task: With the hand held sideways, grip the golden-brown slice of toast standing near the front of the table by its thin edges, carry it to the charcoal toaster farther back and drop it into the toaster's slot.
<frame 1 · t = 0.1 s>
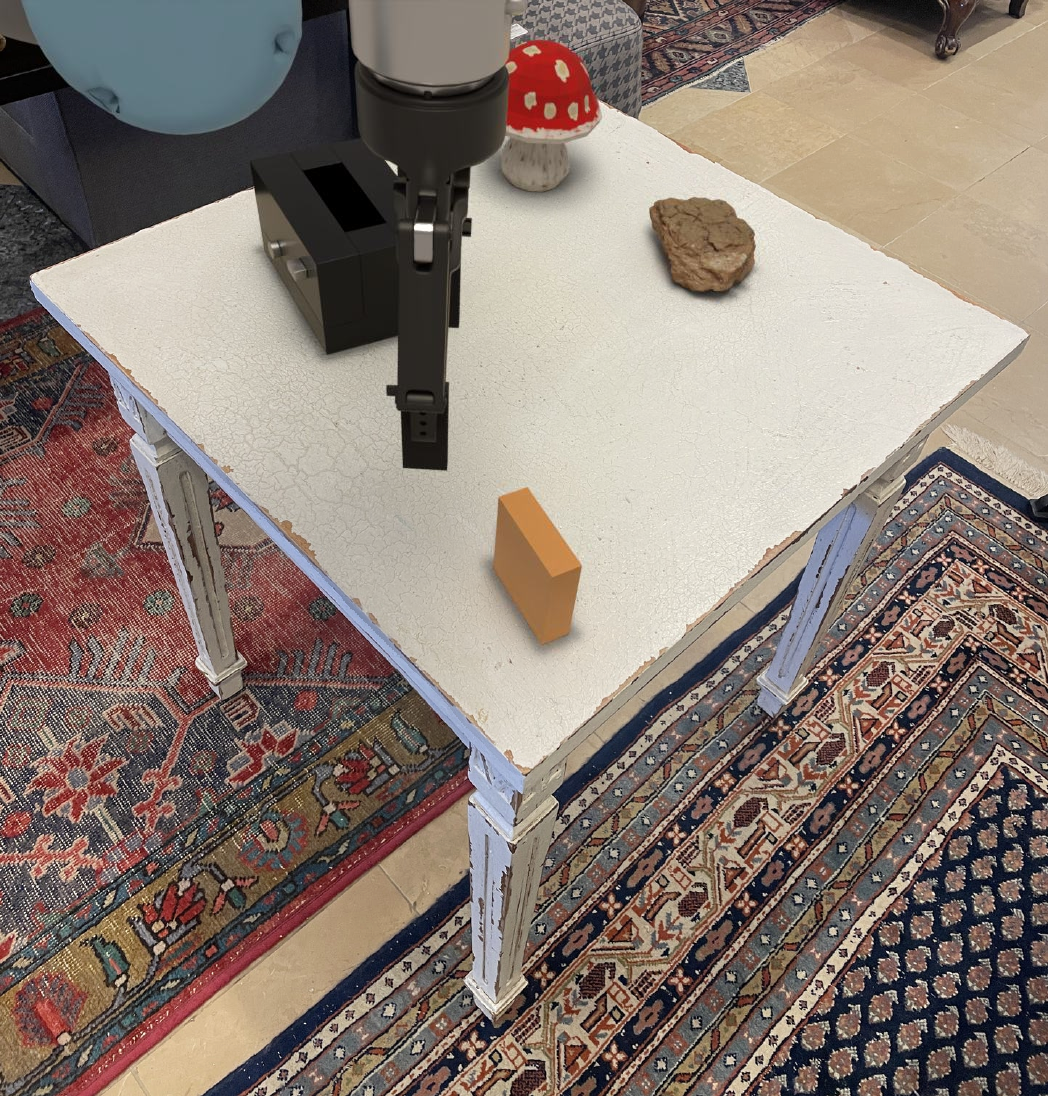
hand: (433, 390, 63), 17 cm above the table, tool pointing down, fingers open, 13 cm apart
rock: (703, 266, 103), on the table
toast: (530, 600, 74), on the table
decorative mushroom: (533, 178, 112), on the table
toaster: (351, 285, 97), on the table
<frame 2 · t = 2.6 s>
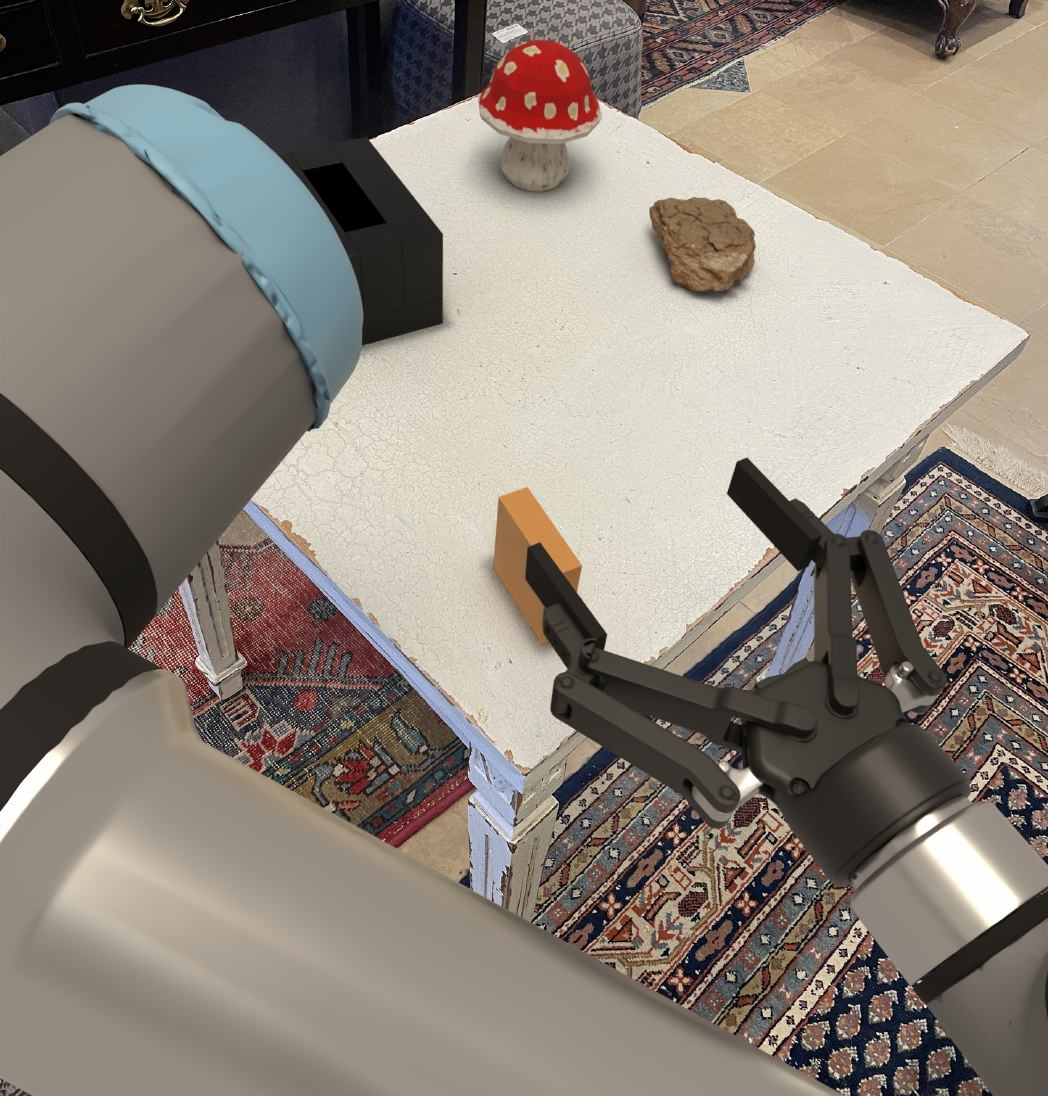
hand: (638, 515, 53), 20 cm above the table, tool horizontal, fingers open, 13 cm apart
nothing on the table moved.
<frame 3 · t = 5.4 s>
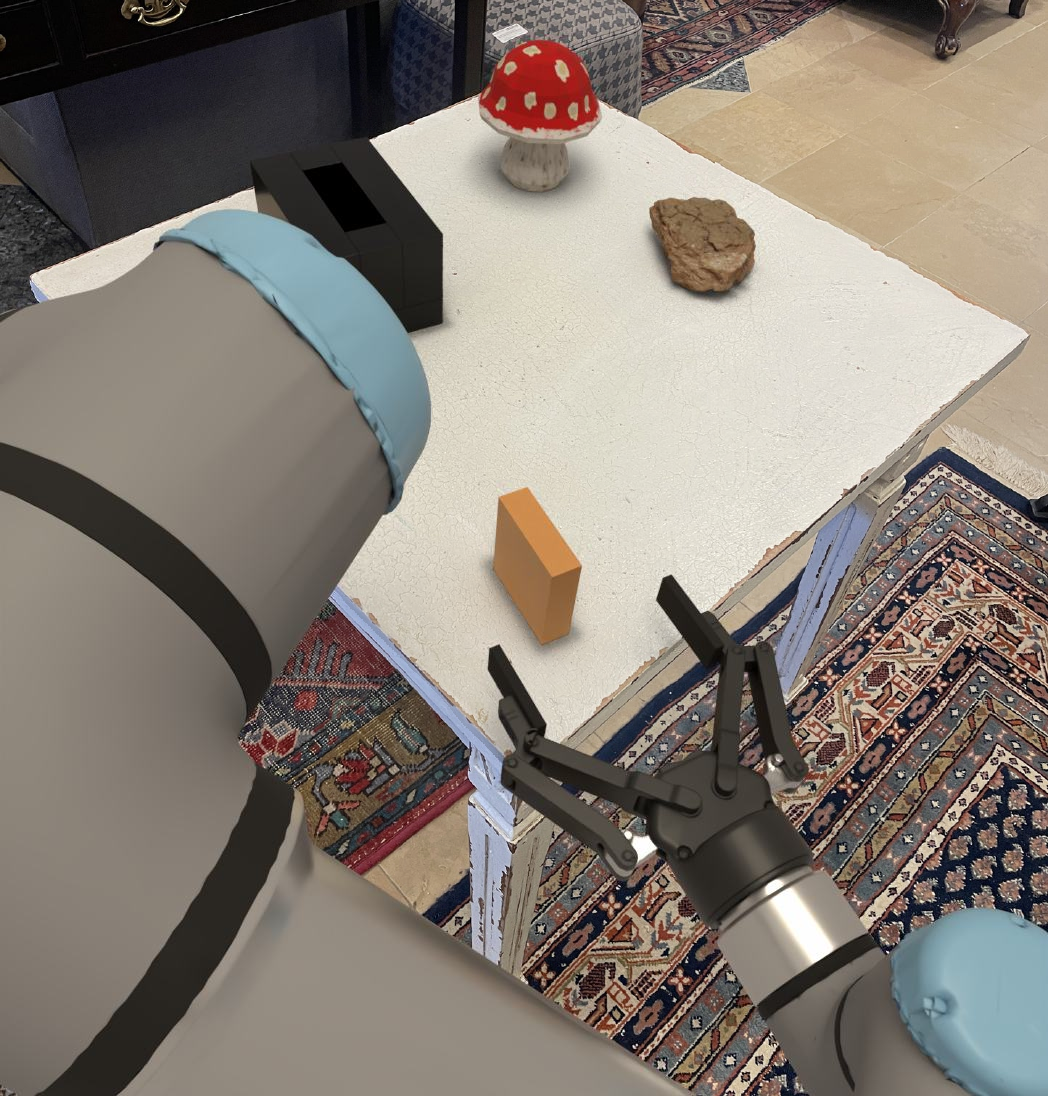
hand: (581, 620, 66), 6 cm above the table, tool horizontal, fingers open, 13 cm apart
nothing on the table moved.
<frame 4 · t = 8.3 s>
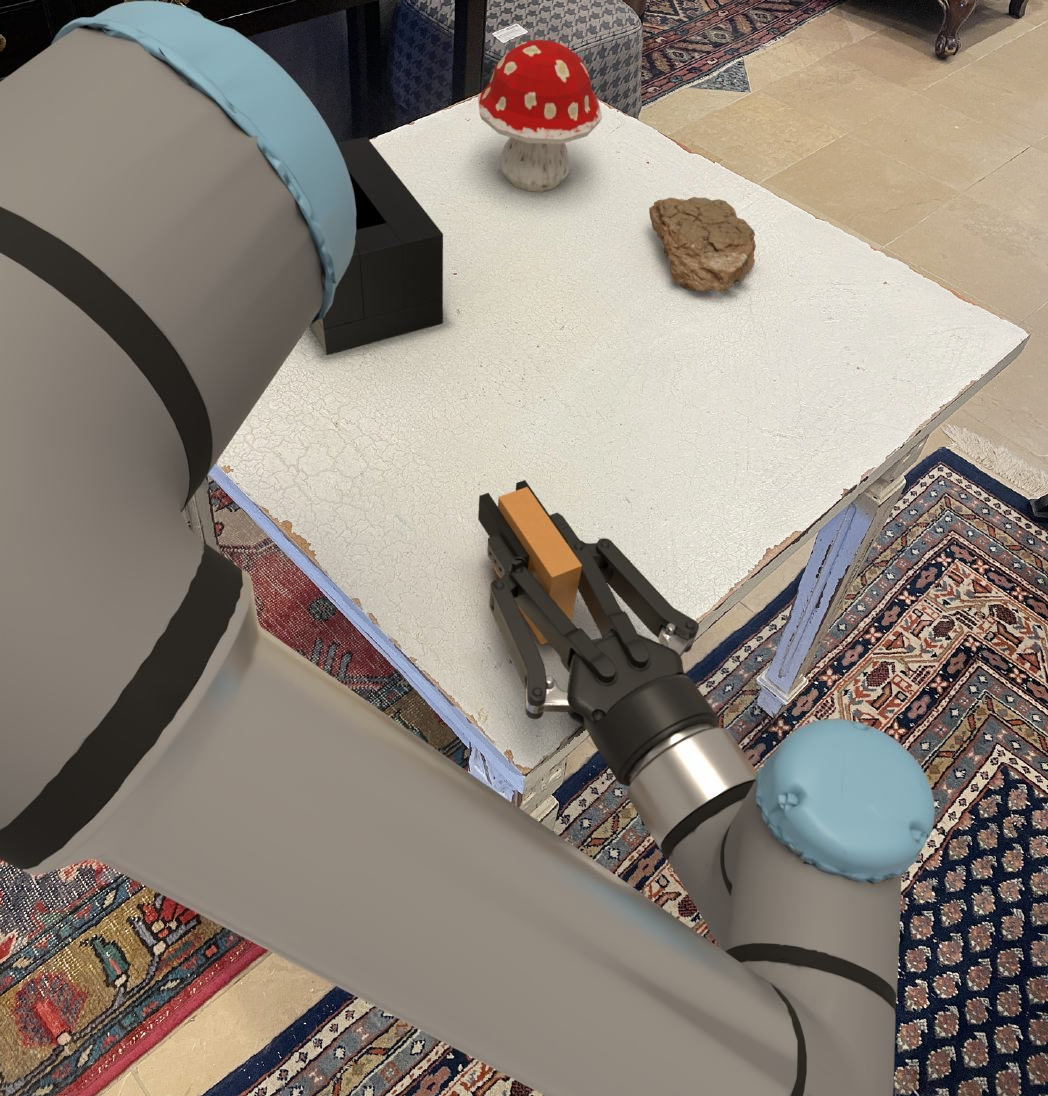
hand: (501, 500, 72), 6 cm above the table, tool horizontal, fingers closed on toast, 2 cm apart
toast: (530, 600, 74), on the table, touching gripper
everything else where it was.
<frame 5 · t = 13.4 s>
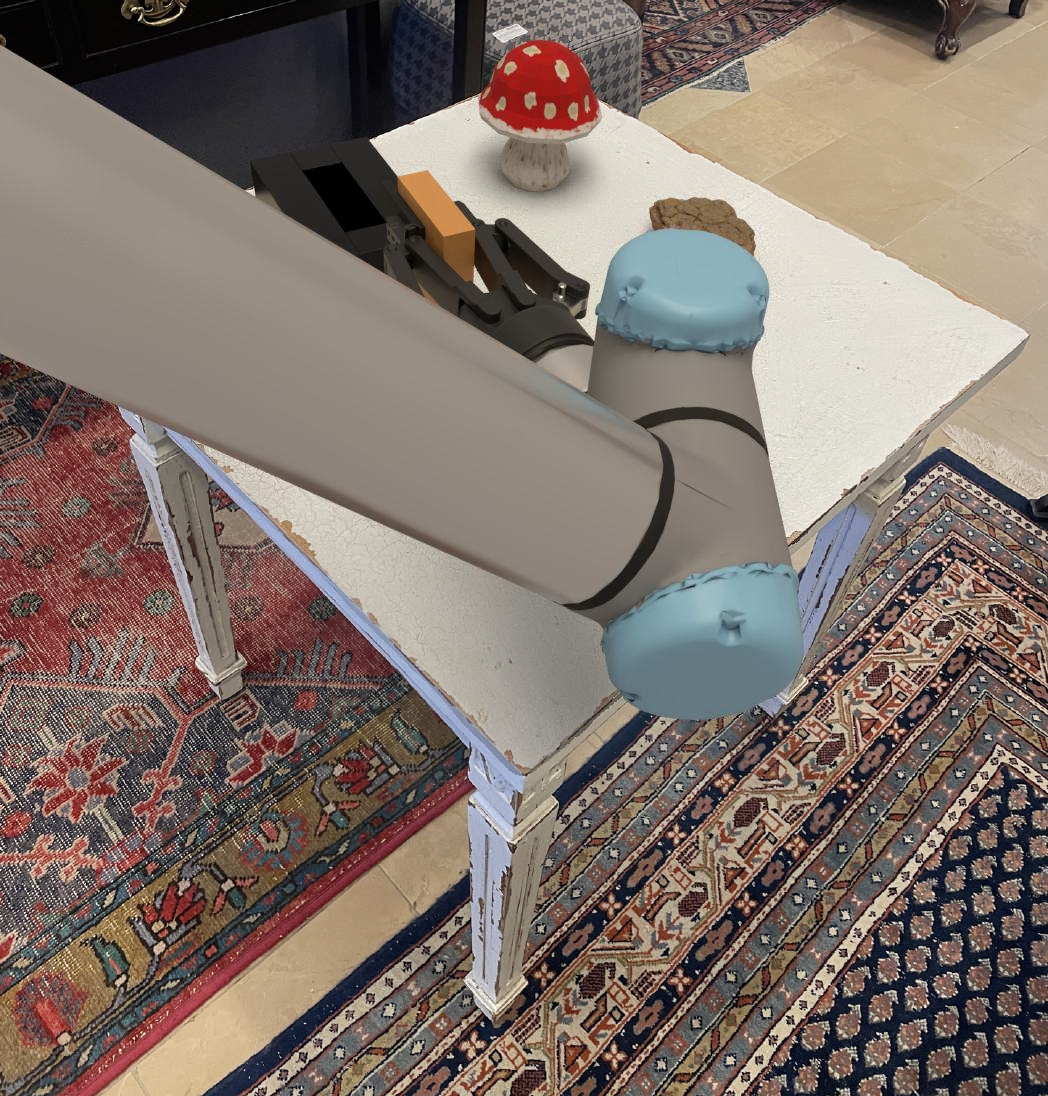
hand: (405, 193, 72), 20 cm above the table, tool horizontal, fingers closed on toast, 2 cm apart
toast: (435, 301, 74), point 14 cm above the table, touching gripper
everything else where it was.
when the fingers open (13 cm above the table, at t = 18.4 s): toast drops 4 cm, resting on toaster.
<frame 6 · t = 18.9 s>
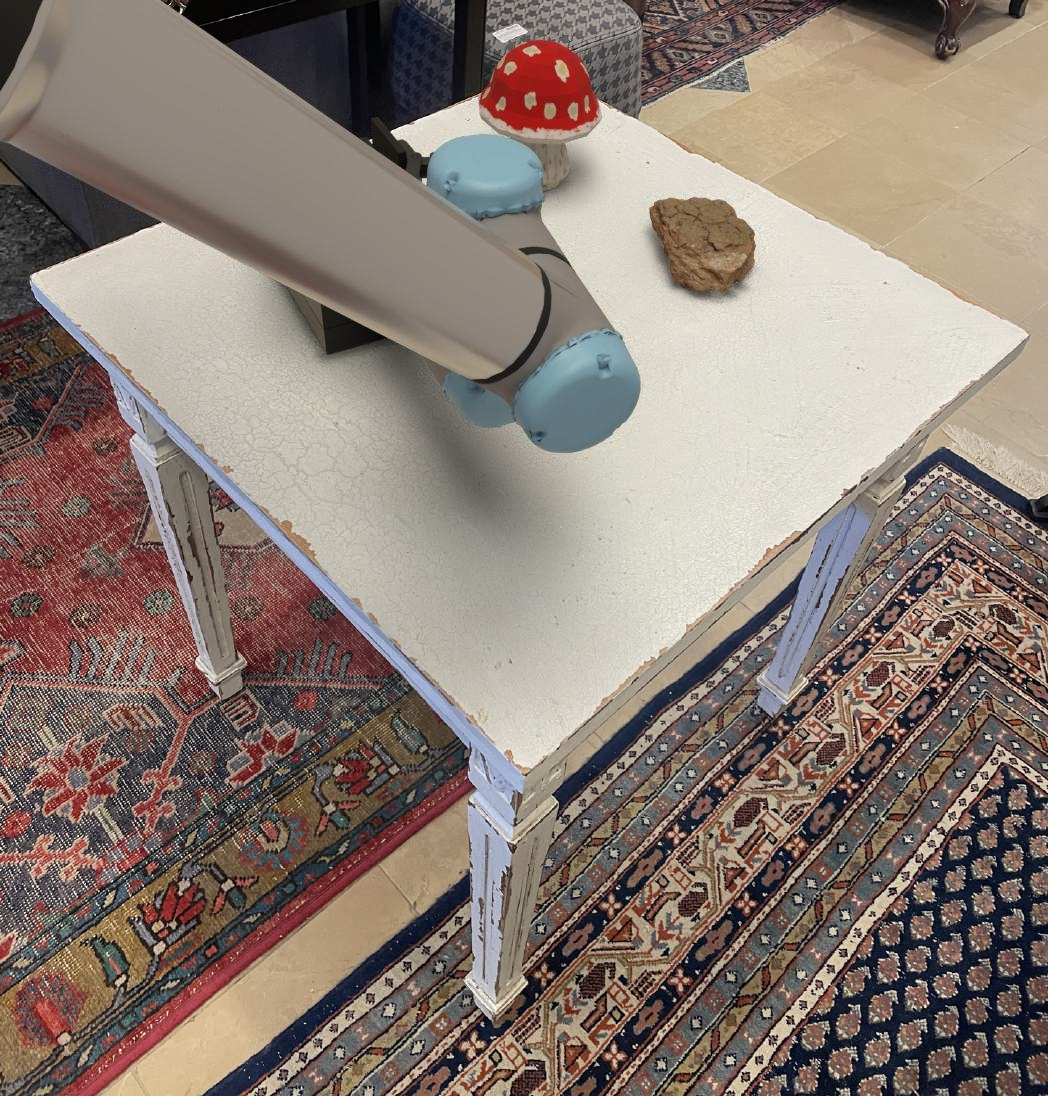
hand: (323, 141, 89), 13 cm above the table, tool horizontal, fingers open, 10 cm apart
toast: (348, 260, 94), point 3 cm above the table, touching toaster
everything else where it was.
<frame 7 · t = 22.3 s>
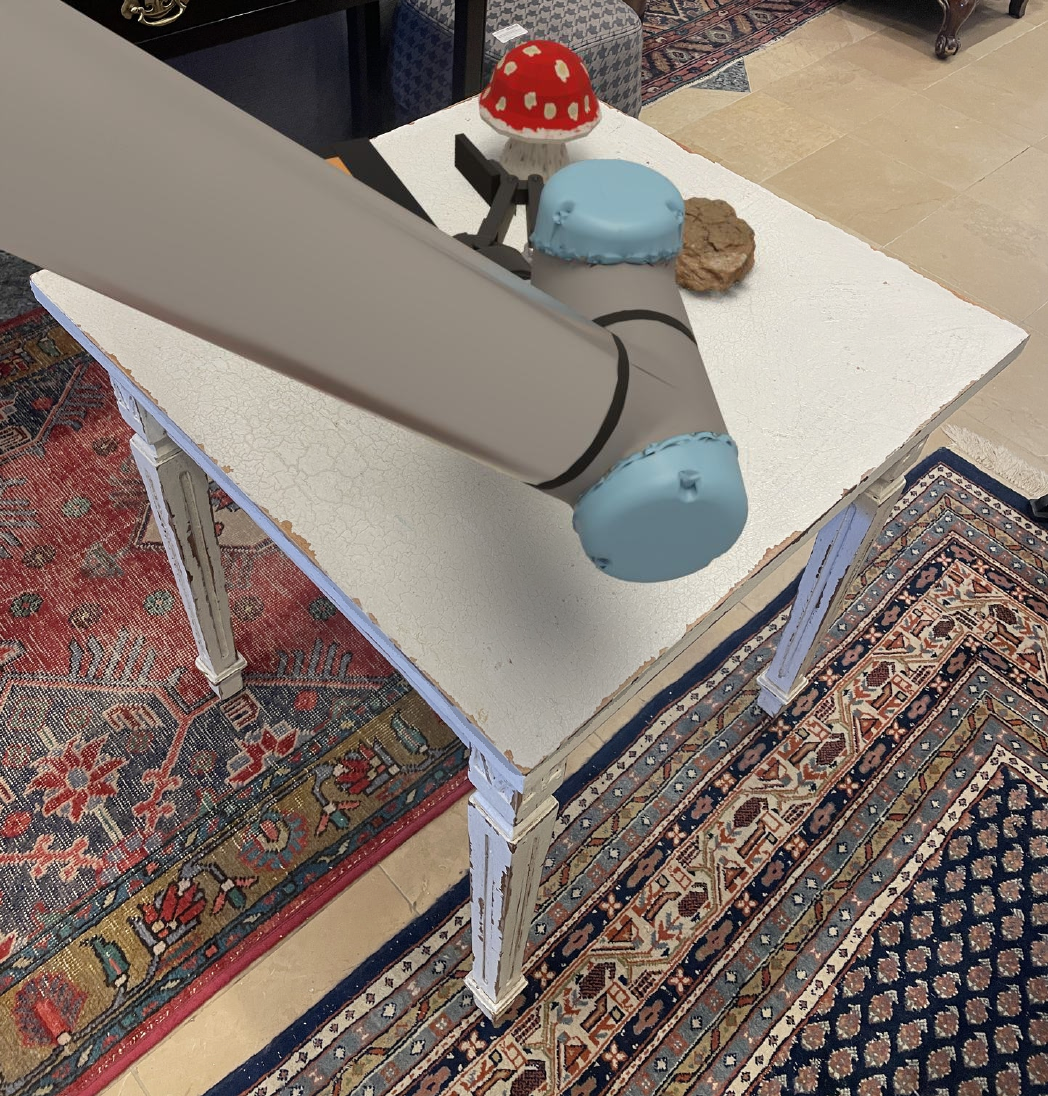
hand: (381, 165, 76), 19 cm above the table, tool horizontal, fingers open, 13 cm apart
nothing on the table moved.
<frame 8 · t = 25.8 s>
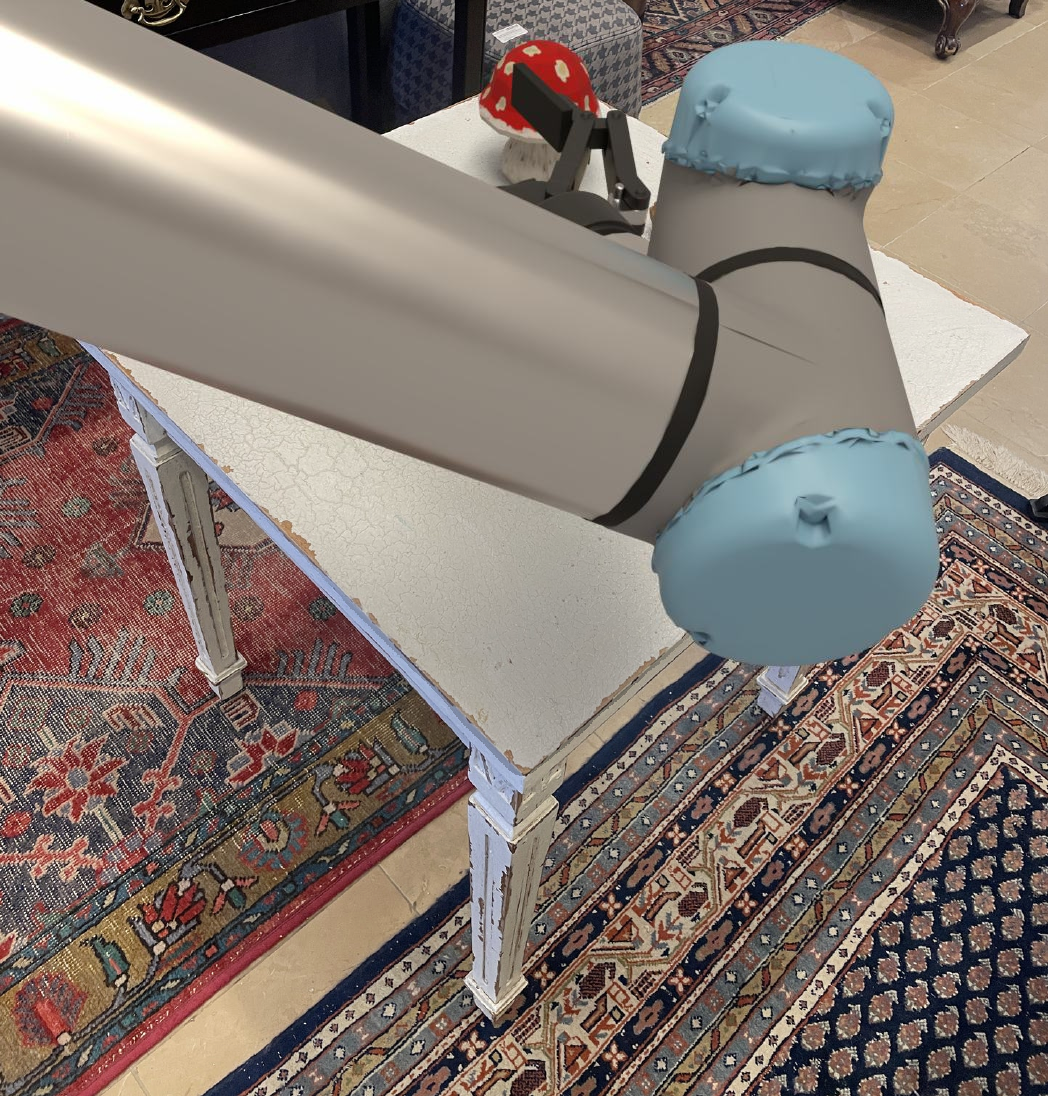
hand: (421, 100, 61), 30 cm above the table, tool horizontal, fingers open, 13 cm apart
nothing on the table moved.
at the end: toast inside the target area on the toaster (0.0 cm from its centre), point 3.0 cm above the toaster's base; toast tilted 0°; the gripper is holding nothing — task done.
